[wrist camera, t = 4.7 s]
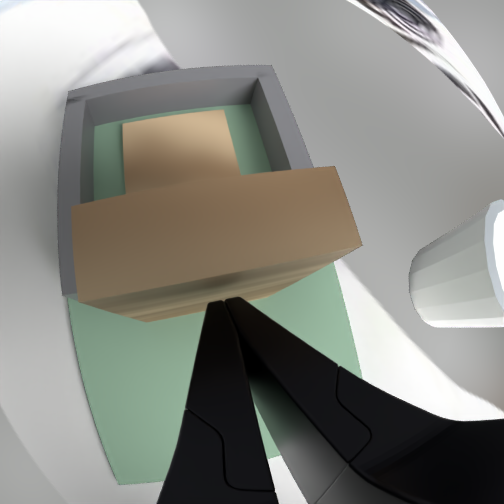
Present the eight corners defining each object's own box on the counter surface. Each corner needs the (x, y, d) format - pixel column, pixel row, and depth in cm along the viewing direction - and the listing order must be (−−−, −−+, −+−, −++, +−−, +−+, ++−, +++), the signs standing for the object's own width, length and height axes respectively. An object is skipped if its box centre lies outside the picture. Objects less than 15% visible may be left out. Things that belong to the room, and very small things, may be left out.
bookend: (267, 297, 15) (362, 245, 6) (146, 322, 14) (78, 301, 5) (222, 117, 17) (248, -9, 9) (124, 132, 16) (98, 4, 7)
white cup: (447, 355, 16) (530, 350, 10) (384, 297, 17) (474, 272, 10) (475, 276, 19) (545, 253, 12) (422, 217, 19) (493, 174, 12)
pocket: (318, 255, 16) (338, 241, 14) (81, 302, 13) (62, 295, 11) (263, 90, 19) (271, 65, 16) (78, 116, 16) (68, 91, 13)
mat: (367, 418, 14) (370, 419, 14) (119, 482, 11) (118, 484, 11) (270, 88, 19) (272, 85, 19) (69, 116, 16) (68, 114, 16)
